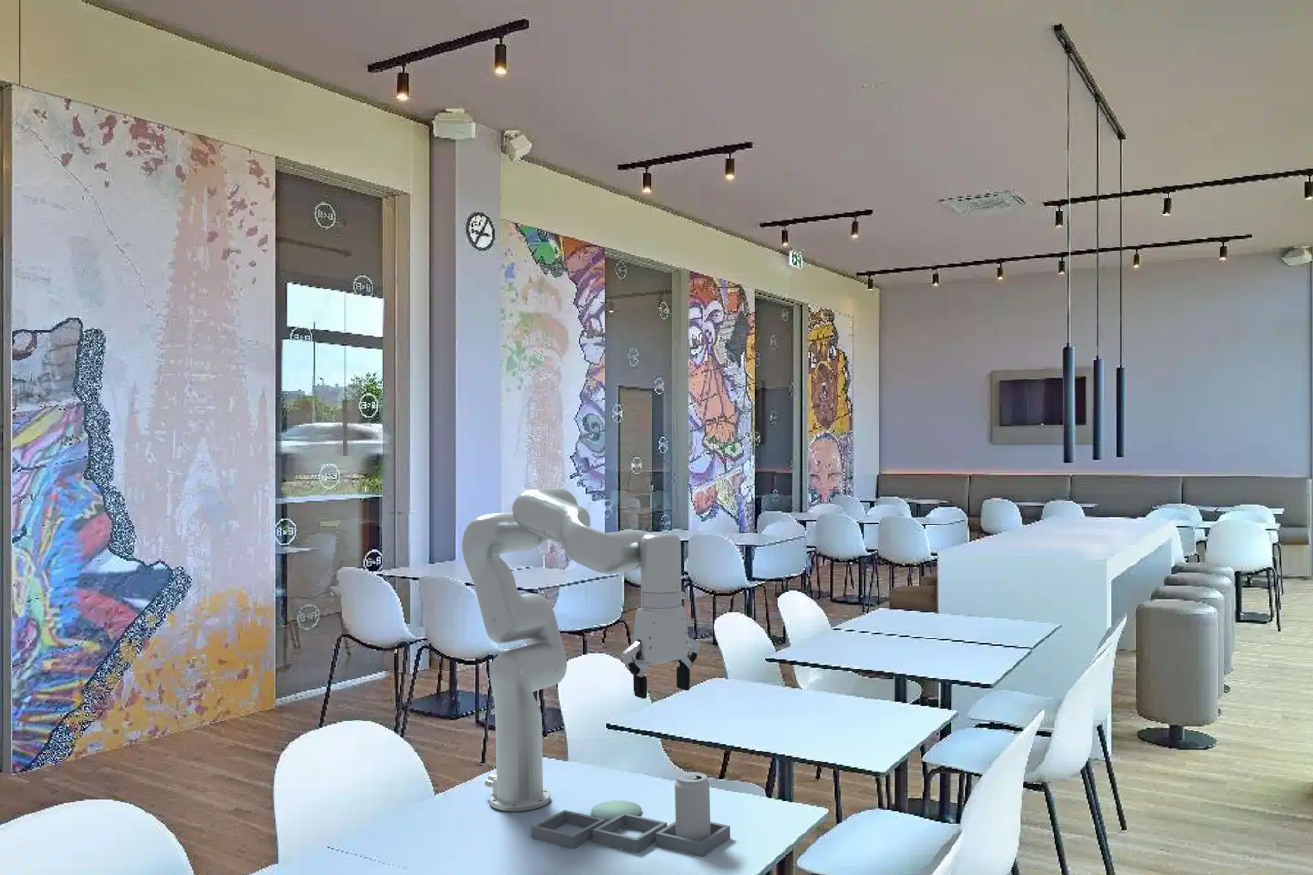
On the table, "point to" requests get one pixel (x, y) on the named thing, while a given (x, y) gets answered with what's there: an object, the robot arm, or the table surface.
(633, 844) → the tray
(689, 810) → the beverage can
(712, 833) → the tray
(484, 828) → the table surface
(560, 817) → the tray
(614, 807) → the coaster
